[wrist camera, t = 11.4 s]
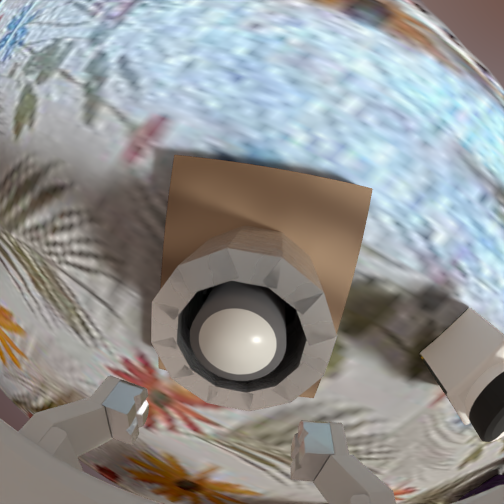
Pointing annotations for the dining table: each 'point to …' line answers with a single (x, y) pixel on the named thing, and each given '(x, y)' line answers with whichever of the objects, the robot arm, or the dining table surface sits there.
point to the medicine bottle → (471, 372)
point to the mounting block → (268, 218)
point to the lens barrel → (257, 273)
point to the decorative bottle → (486, 486)
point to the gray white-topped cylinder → (240, 331)
